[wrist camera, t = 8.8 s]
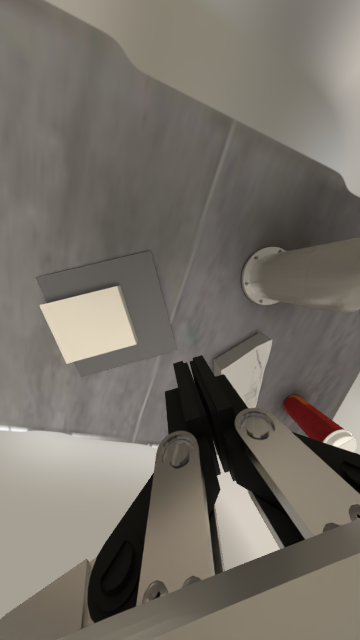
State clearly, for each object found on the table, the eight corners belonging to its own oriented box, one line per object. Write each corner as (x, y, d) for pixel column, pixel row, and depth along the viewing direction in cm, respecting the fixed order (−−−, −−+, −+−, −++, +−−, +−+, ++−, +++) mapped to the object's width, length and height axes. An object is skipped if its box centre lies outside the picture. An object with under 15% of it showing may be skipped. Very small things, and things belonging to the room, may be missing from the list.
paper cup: (279, 417, 50) (325, 468, 37) (279, 395, 48) (327, 440, 35) (304, 410, 51) (358, 458, 38) (304, 388, 49) (361, 430, 36)
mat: (150, 251, 35) (150, 250, 34) (176, 348, 41) (176, 349, 40) (37, 277, 33) (35, 277, 32) (82, 375, 39) (81, 377, 38)
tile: (117, 286, 32) (39, 305, 31) (136, 344, 35) (66, 363, 34) (120, 285, 35) (49, 302, 34) (137, 339, 38) (73, 356, 37)
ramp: (239, 427, 50) (249, 445, 44) (188, 417, 46) (192, 435, 41) (282, 338, 44) (299, 347, 39) (228, 321, 41) (239, 327, 36)
